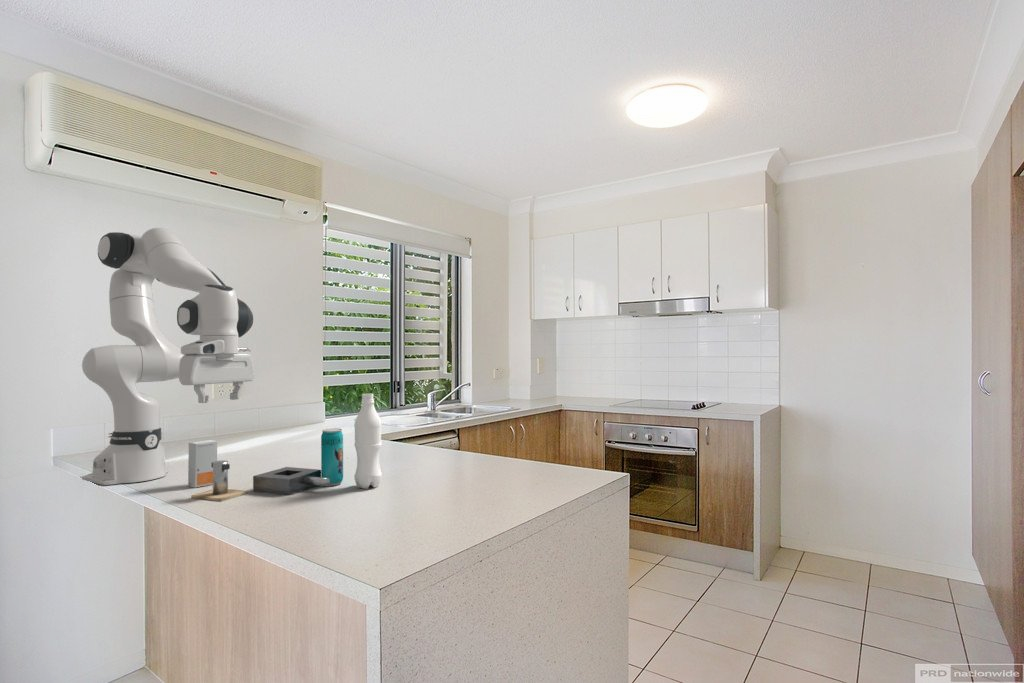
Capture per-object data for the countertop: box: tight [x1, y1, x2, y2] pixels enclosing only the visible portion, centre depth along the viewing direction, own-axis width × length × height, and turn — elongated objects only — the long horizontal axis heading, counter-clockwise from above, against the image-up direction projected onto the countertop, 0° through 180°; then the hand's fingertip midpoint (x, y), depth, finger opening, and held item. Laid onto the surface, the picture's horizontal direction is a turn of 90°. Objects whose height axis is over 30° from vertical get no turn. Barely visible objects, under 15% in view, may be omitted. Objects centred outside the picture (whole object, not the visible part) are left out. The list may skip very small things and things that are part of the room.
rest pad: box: [190, 488, 248, 502], centre depth 142 cm, size 10×8×1 cm
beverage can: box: [320, 427, 344, 487], centre depth 152 cm, size 6×6×15 cm
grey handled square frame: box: [252, 466, 330, 496], centre depth 148 cm, size 19×12×4 cm, turn 69°
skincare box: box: [187, 439, 218, 489], centre depth 153 cm, size 6×4×12 cm
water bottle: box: [353, 393, 383, 490], centre depth 150 cm, size 7×7×25 cm
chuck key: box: [211, 459, 231, 495], centre depth 142 cm, size 6×3×8 cm, turn 59°
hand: (219, 401), depth 142 cm, fingers open, 8 cm apart
